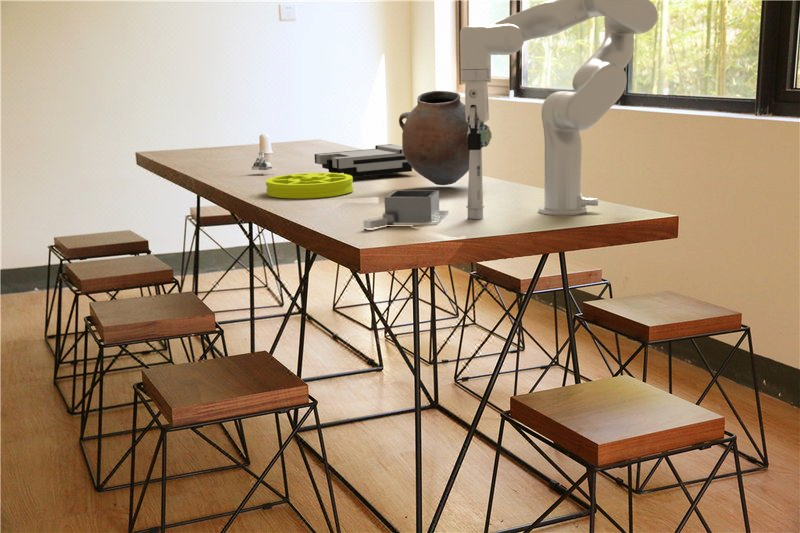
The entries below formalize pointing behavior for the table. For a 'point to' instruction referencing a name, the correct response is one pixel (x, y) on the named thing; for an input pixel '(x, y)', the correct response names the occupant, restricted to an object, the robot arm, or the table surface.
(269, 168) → the house of cards
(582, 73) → the robot arm
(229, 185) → the table surface
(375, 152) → the game console
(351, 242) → the table surface
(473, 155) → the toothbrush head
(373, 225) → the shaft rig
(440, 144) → the clay pot
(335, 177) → the pulley
